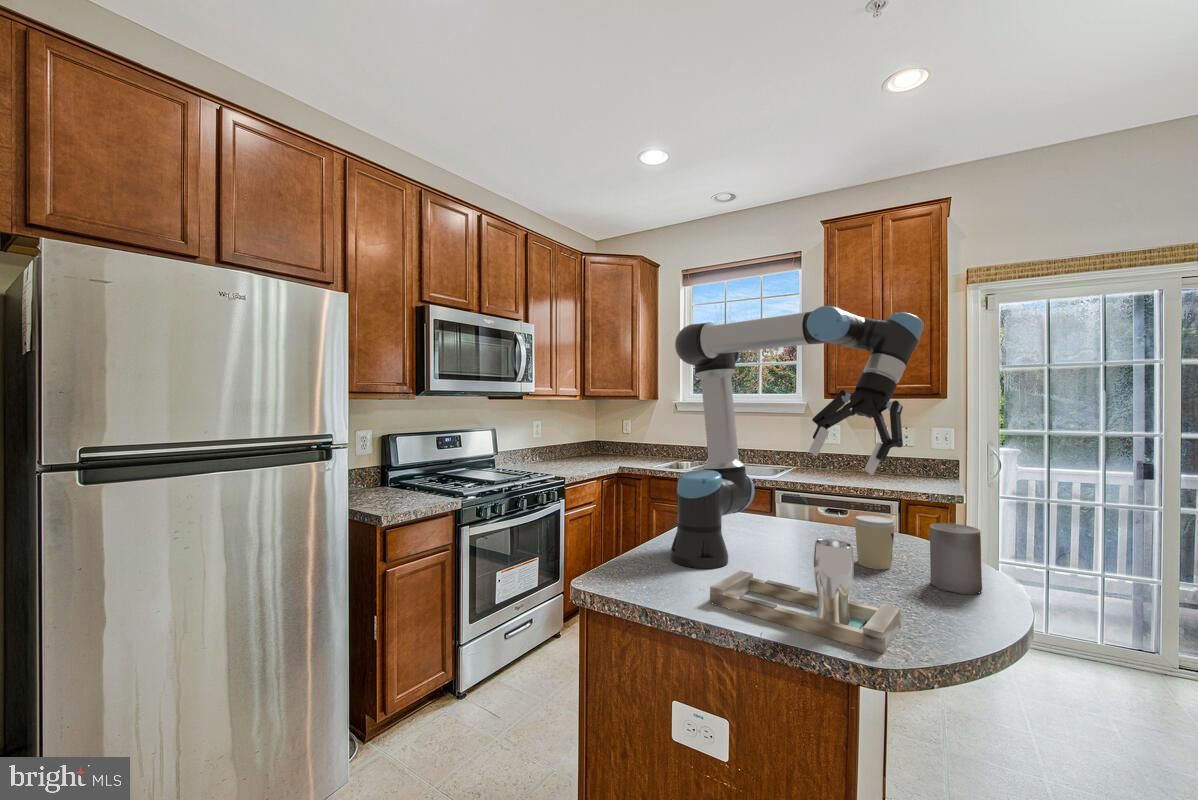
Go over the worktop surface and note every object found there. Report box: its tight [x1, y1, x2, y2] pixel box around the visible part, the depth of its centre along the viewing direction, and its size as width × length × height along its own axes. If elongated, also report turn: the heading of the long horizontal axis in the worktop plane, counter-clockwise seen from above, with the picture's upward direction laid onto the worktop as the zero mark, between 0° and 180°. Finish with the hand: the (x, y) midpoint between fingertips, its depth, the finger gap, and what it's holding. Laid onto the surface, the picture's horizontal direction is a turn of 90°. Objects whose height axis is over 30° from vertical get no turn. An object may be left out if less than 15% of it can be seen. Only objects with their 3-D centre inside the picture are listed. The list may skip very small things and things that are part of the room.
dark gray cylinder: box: [929, 521, 983, 595], centre depth 116 cm, size 10×10×15 cm
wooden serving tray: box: [709, 570, 902, 655], centre depth 99 cm, size 32×14×4 cm, turn 49°
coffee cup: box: [854, 515, 896, 570], centre depth 132 cm, size 9×9×12 cm
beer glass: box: [812, 538, 855, 626], centre depth 95 cm, size 7×7×15 cm
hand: (839, 462), depth 112 cm, fingers open, 13 cm apart
